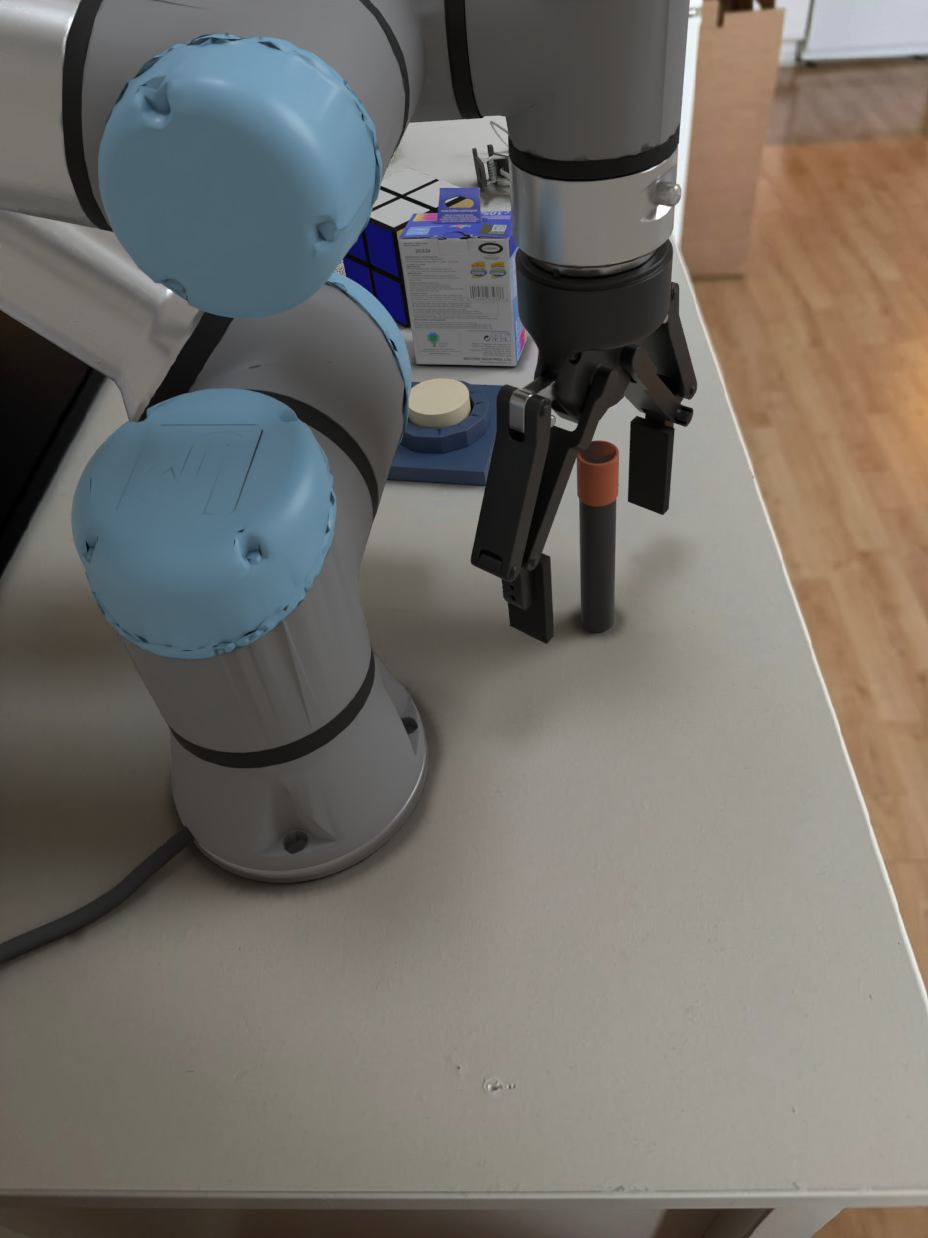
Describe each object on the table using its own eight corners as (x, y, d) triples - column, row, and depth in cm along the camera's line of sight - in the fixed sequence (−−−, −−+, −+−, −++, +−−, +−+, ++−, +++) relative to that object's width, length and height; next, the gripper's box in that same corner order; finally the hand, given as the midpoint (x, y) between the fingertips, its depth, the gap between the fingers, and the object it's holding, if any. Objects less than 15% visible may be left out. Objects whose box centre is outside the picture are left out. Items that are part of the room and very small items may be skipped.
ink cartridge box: (529, 336, 90) (520, 180, 79) (520, 368, 86) (509, 209, 76) (428, 334, 92) (406, 182, 81) (415, 366, 88) (390, 211, 78)
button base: (486, 485, 75) (482, 455, 73) (366, 478, 77) (359, 448, 75) (514, 398, 83) (512, 368, 81) (404, 394, 85) (399, 364, 83)
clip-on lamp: (482, 175, 124) (476, 202, 109) (473, 121, 120) (466, 141, 106) (572, 156, 122) (578, 181, 107) (565, 101, 119) (571, 119, 104)
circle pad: (462, 432, 76) (460, 415, 75) (400, 428, 77) (397, 412, 76) (476, 395, 79) (475, 379, 78) (417, 392, 81) (414, 376, 80)
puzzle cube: (348, 298, 99) (328, 201, 91) (422, 260, 103) (409, 165, 95) (409, 329, 93) (393, 229, 86) (484, 289, 97) (475, 190, 90)
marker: (603, 638, 63) (604, 470, 53) (572, 624, 64) (568, 457, 54) (622, 616, 64) (627, 447, 54) (591, 603, 65) (591, 435, 55)
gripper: (501, 393, 37) (528, 722, 52) (784, 155, 50) (738, 477, 65) (360, 344, 41) (424, 665, 56) (657, 134, 53) (642, 444, 69)
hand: (593, 565), depth 61 cm, fingers open, 13 cm apart
